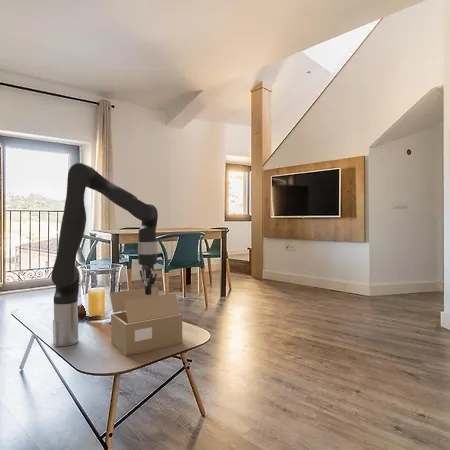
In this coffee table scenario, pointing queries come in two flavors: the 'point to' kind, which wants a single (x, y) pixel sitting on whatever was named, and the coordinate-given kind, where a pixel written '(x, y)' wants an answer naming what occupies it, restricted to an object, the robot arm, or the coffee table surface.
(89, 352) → the coffee table surface
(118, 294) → the far flap
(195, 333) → the coffee table surface
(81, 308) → the decorative turtle
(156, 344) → the carton
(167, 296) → the near flap
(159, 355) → the coffee table surface
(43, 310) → the coffee table surface
